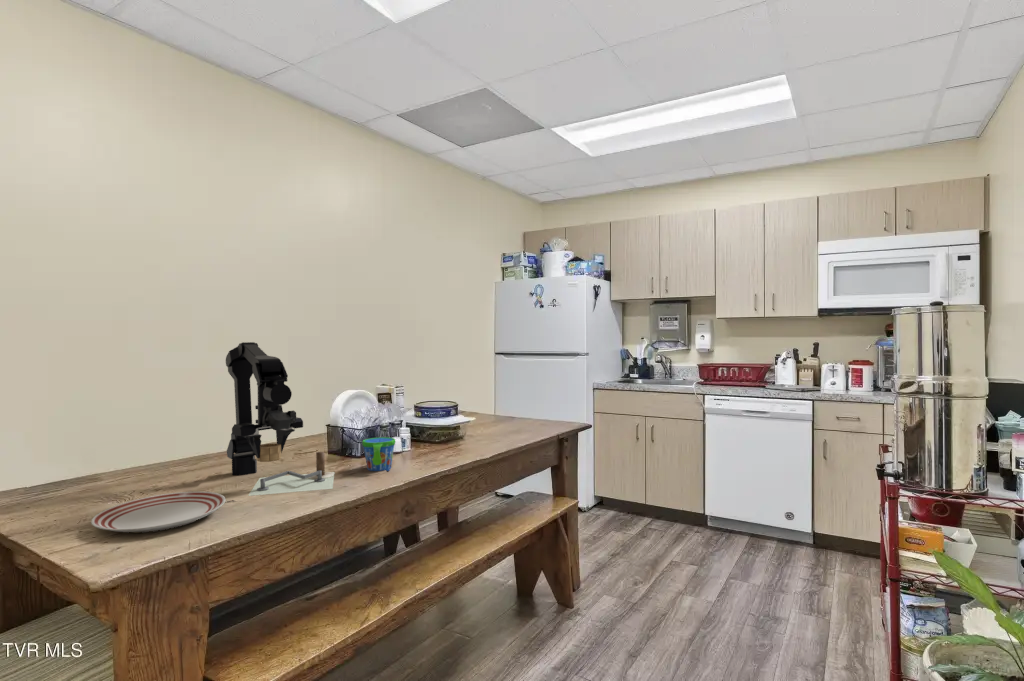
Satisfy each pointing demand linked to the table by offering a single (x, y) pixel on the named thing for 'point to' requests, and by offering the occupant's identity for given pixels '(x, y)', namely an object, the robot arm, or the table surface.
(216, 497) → the dinner plate
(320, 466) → the peg stand
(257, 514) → the table surface
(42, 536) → the table surface
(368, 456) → the snack cup
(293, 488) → the wire course
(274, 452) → the ring
